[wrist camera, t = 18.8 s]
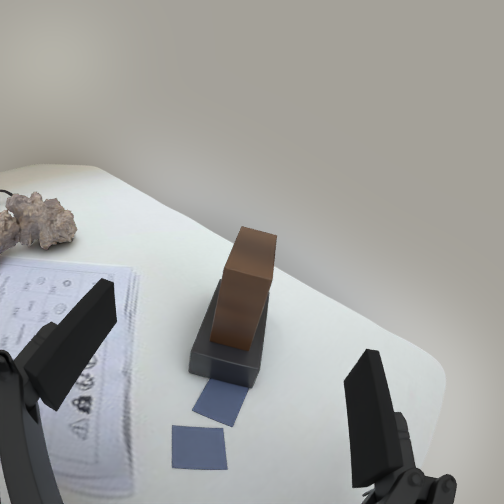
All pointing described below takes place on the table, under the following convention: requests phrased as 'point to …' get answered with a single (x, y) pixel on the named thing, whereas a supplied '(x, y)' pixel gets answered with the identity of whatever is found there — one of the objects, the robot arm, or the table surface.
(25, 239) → the rock
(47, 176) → the table surface
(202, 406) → the pair of blue tiles
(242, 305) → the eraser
